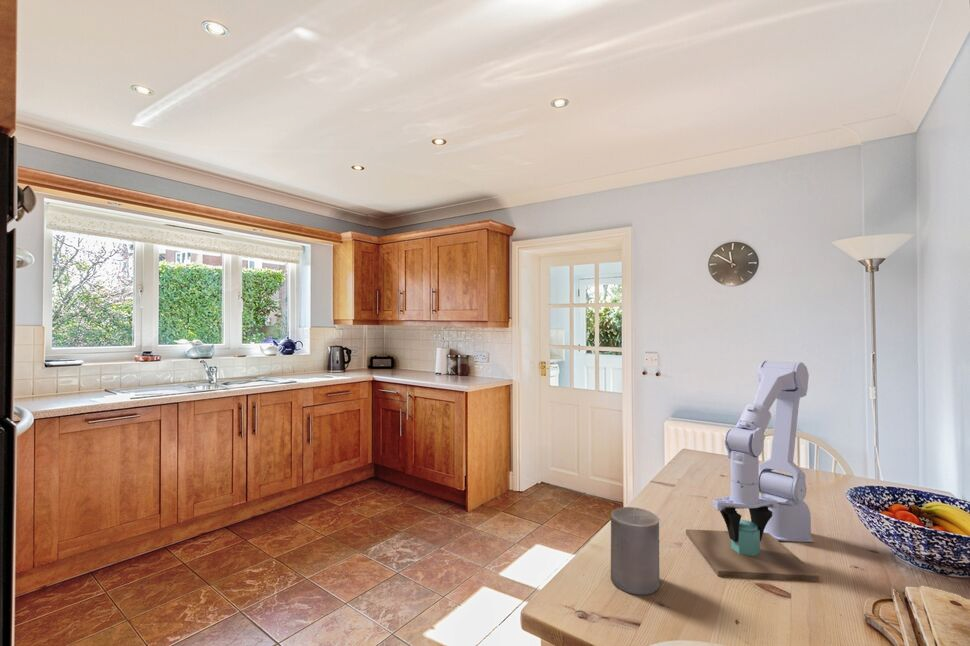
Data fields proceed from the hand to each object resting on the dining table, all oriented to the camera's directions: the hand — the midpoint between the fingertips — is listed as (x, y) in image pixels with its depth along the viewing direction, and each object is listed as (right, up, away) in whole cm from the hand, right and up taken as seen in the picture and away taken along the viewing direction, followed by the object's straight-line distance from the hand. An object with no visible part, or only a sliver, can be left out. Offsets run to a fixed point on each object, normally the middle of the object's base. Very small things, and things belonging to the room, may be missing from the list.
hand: (745, 539), depth 104 cm
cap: (0, -2, 0) cm, 2 cm away
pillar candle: (-29, -4, -11) cm, 32 cm away
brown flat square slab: (0, -4, 0) cm, 4 cm away
